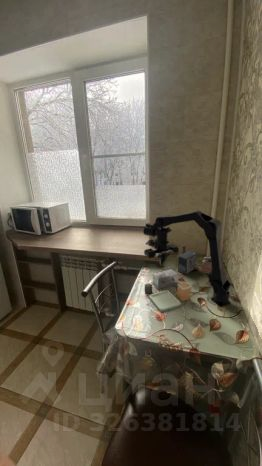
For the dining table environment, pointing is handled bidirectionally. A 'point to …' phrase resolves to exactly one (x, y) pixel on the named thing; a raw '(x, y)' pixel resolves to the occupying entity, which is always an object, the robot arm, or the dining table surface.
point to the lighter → (206, 265)
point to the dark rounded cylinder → (148, 288)
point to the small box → (186, 262)
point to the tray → (164, 300)
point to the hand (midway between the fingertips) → (161, 264)
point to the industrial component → (182, 250)
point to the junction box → (165, 279)
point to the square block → (184, 291)
